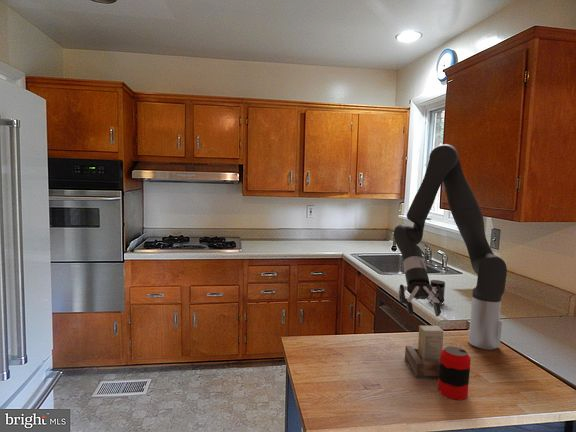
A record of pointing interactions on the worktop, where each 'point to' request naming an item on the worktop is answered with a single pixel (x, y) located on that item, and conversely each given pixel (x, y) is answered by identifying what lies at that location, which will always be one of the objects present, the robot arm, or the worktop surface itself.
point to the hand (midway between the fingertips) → (425, 315)
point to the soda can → (454, 373)
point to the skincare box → (430, 343)
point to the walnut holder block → (421, 364)
